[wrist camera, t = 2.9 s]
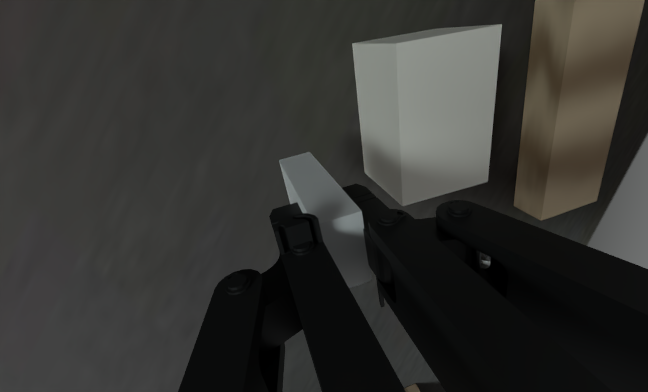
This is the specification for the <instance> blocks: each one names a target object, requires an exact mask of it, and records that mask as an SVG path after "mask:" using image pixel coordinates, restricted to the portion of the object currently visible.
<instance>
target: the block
mask: <svg viewBox="0 0 648 392" xmlns="http://www.w3.org/2000/svg"><path fill="white" fill-rule="evenodd" d="M501 30H502V24H498V25H483V26H468V27H454V28H439V29H431V30H426V31H420V32H415V33H409V34H403V35H398V36H392V37H386V38H381V39H375V40H369V41H364V42H358V43H353V44H352V46H353V56H354V66H355V77H356V87H357V97H358V108H359V118H360V129H361V139H362V149H363V160H364V170H365V174H367V175H368V176H369V177H370V178H371V179H372V180H373V181H375V182H376V183H377V184H378V185H379V186H380V187H381V188H383V189H384V190H385V191H386V192H387V193H388V194H389V195H390V196H392V197H393V198H394V199H395V200H396V201H397V202H398V203H400V204H401V205H402V206H405V205H409V204H412V203H416V202H419V201H423V200H426V199H430V198H433V197H437V196H440V195H444V194H447V193H451V192H454V191H457V190H461V189H464V188H468V187H471V186H475V185H478V184H482V183H485V182H488V174H489V163H490V151H491V140H492V129H493V118H494V107H495V96H496V85H497V74H498V63H499V52H500V41H501Z"/></svg>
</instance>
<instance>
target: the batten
mask: <svg viewBox="0 0 648 392" xmlns="http://www.w3.org/2000/svg"><path fill="white" fill-rule="evenodd" d="M644 1H645V0H535V7H534V17H533V26H532V36H531V45H530V55H529V64H528V74H527V83H526V93H525V102H524V112H523V121H522V131H521V140H520V149H519V159H518V168H517V178H516V187H515V197H514V206H515V207H517V208H519V209H520V210H522V211H524V212H526V213H528V214H529V215H531V216H533V217H535V218H537V219H539V220H540V221H542V220H544V219H547V218H550V217H553V216H556V215H559V214H561V213H564V212H567V211H570V210H573V209H576V208H578V207H581V206H584V205H587V204H590V203H592V202H595V201H597V198H598V194H599V190H600V185H601V181H602V177H603V173H604V169H605V164H606V160H607V156H608V152H609V148H610V143H611V139H612V135H613V131H614V127H615V123H616V118H617V114H618V110H619V106H620V102H621V97H622V93H623V89H624V85H625V81H626V77H627V72H628V68H629V64H630V60H631V56H632V51H633V47H634V43H635V39H636V35H637V31H638V26H639V22H640V18H641V14H642V10H643V5H644Z"/></svg>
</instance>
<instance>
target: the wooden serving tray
mask: <svg viewBox="0 0 648 392" xmlns="http://www.w3.org/2000/svg"><path fill="white" fill-rule="evenodd" d="M404 389H405V391H406V392H420V390H419V388H418V387H417V385H416V384H413V385H411V386H409V387H406V388H404Z"/></svg>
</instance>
